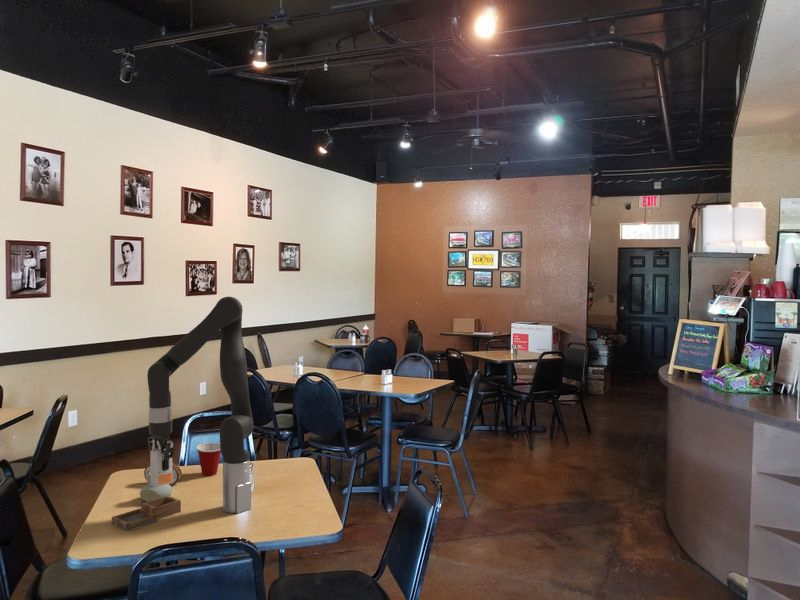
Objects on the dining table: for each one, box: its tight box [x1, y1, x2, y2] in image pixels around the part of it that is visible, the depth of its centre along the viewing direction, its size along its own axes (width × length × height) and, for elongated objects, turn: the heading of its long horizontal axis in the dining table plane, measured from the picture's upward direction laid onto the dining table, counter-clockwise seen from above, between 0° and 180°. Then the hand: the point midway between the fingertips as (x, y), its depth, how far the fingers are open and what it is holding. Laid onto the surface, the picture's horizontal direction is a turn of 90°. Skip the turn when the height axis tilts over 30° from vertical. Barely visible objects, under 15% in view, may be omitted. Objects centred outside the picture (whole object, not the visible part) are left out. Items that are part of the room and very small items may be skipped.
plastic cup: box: [196, 442, 222, 477], centre depth 250 cm, size 11×11×12 cm
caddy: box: [111, 495, 182, 532], centre depth 203 cm, size 10×20×4 cm, turn 143°
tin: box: [143, 462, 183, 486], centre depth 238 cm, size 15×3×8 cm, turn 81°
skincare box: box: [149, 449, 173, 487], centre depth 207 cm, size 6×4×12 cm
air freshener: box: [139, 473, 173, 502], centre depth 221 cm, size 11×8×10 cm
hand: (161, 468), depth 207 cm, fingers closed on skincare box, 4 cm apart
